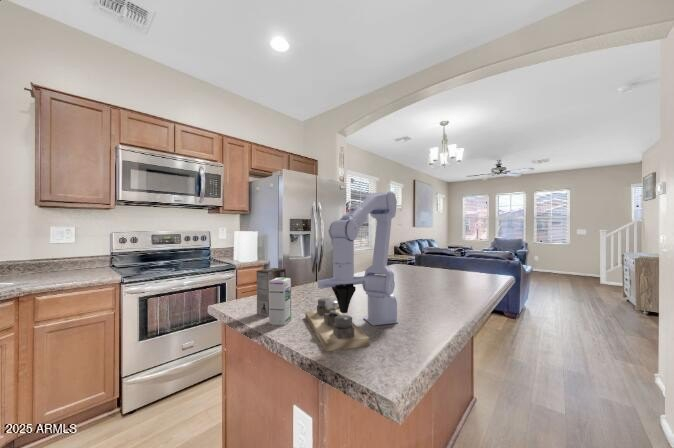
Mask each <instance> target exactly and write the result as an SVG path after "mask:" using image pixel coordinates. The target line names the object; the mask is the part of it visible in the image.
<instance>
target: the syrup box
mask: <svg viewBox="0 0 674 448" xmlns="http://www.w3.org/2000/svg"><path fill="white" fill-rule="evenodd" d="M291 279H292V278H291V277H286V278H275V279H273V280H270V281H269V317H268V324H269V325H273V326H286V325H288V323H289V322H291V320H292V285H291V284H292V280H291Z"/></svg>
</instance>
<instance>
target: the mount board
mask: <svg viewBox="0 0 674 448" xmlns="http://www.w3.org/2000/svg"><path fill="white" fill-rule="evenodd" d="M304 314H305V320H306V321H307V322H308V324H309V326H310V327H311V329H312V331H313V332H314V334H315V335H316V337H317V339H318V340H319V342H320V343H321V345H322V348H323V349H324V350H325V351H326V352H331V351H339V350H348V349H353V348H360V347H367V346H368V347H369V346H371V345H370V341H371V340H370V337H369V336H368V335H367V334H366V333H365V332H364V331H363V330H361V328H359V327H358V326H357V324H355V323H354V322H353V321H352V327H350V328H338V327H336V326H335V317H336V316H339V315H345V313H341V312H340V309H337V310H336V316H333V317H332V316H330V310H329V309H326V308H320V307H318V304H317V305H316V310H313V311H305V313H304Z"/></svg>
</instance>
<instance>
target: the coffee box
mask: <svg viewBox="0 0 674 448" xmlns="http://www.w3.org/2000/svg"><path fill="white" fill-rule="evenodd" d="M275 278H287V277H286V268H279V267H272V268H271V267H270V268H266V269H260V270H256V314H257V315H260V316H264V317H268V318H269V281H270V280H273V279H275Z"/></svg>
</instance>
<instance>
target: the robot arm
mask: <svg viewBox="0 0 674 448" xmlns="http://www.w3.org/2000/svg"><path fill="white" fill-rule="evenodd" d="M363 198H364V199H363V200H362V202H361V203H360V205H358V206H350V208H349V211H348V212H346V213H345V214H343V215H342V216H341V218H340V219H335V220H333V221H332V222H331V223H330V225H329V229H328V236H329V237H330V245H331V247H332V254H333V255H332V265H333V266H332V269H333V270H332V271H333V272H332V276H333V277H331V278H326V279H317V288H318V289H320V290H322V289H326V288H331V289H332V291H333V293H334V296H335V299H337V301H338V304H339V309H338V310H339V311H340V312H341V313H343V314H347V313H348V311H349V307H350V304H351V300H352V298H353V295H354V294H355V292H356V288H357V287H356V285H361V286H362V289H363V291H364V292H365V294H366V295H367V316H363V317H362V318H363V319H364V320H365V321H366V322H367V323H369V324H371V325H372V326H380V325H381V326H382V325H390V324H398V323H399V320H398V300H397V297H396V296H395V294H393V293H394V292H395V291H394V290H395V287H396V285H395V283H396V282H395V273H394V272H393V271H392V270H391V268H389V267H388V261H389V260H388V257H389V247H390V241H391V240H390V239H391V228H392V219H394V218H395V217H396V213H397V203H398V200H397V197H396V194H395V192H394V191H392V190H390V191H383V192H373V193H372V192H368V193H366V194H365V195H364V197H363ZM369 214H370V216H371V217H372V218H373V219H375V221H376V227H375V228H376V229H375V237H374V247H373V255H372V256H373V257H372V262H371V263H372V265H370V266H369V267H368V268H366V269H365V270H364V271H365V272H364V276H363V275H362V276H355V267H354V265H355V264H354V263H355V262H354V259H355V254H354V251H355V250H354V249H355V248H354V247H355V246H354V245H355V244H354V242H355V240H356V239H357V237H358V234H359V231H360V228H361V227H362V226H363V225H364V224H365V223H366V222H367V218H368V217H367V216H368V215H369Z"/></svg>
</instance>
